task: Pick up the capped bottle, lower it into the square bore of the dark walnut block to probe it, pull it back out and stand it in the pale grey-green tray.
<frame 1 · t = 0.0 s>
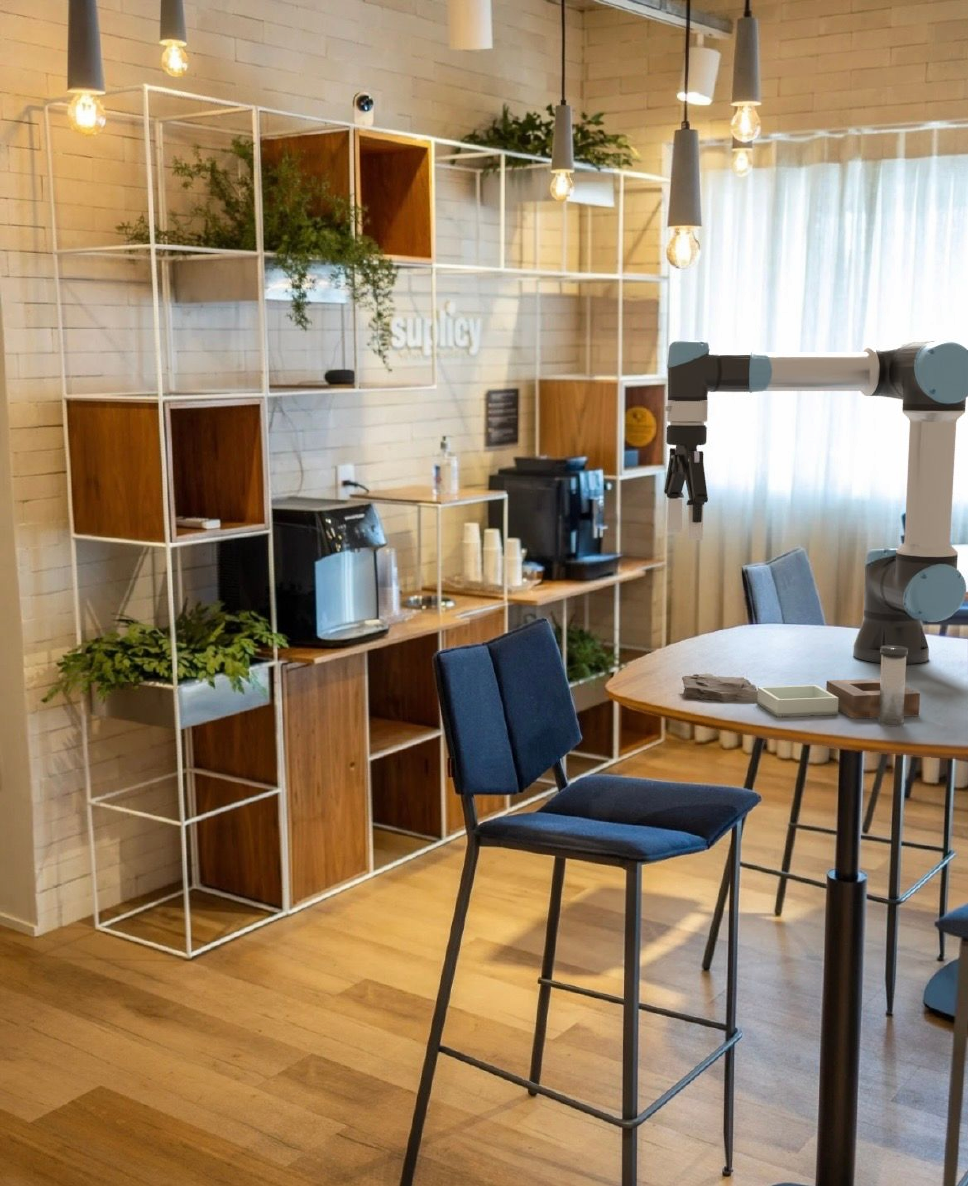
hand: (684, 535, 263), 28 cm above the table, fingers open, 13 cm apart
rock: (720, 698, 253), on the table
tray: (796, 709, 243), on the table
capped bottle: (890, 723, 233), on the table
bore block: (871, 708, 243), on the table
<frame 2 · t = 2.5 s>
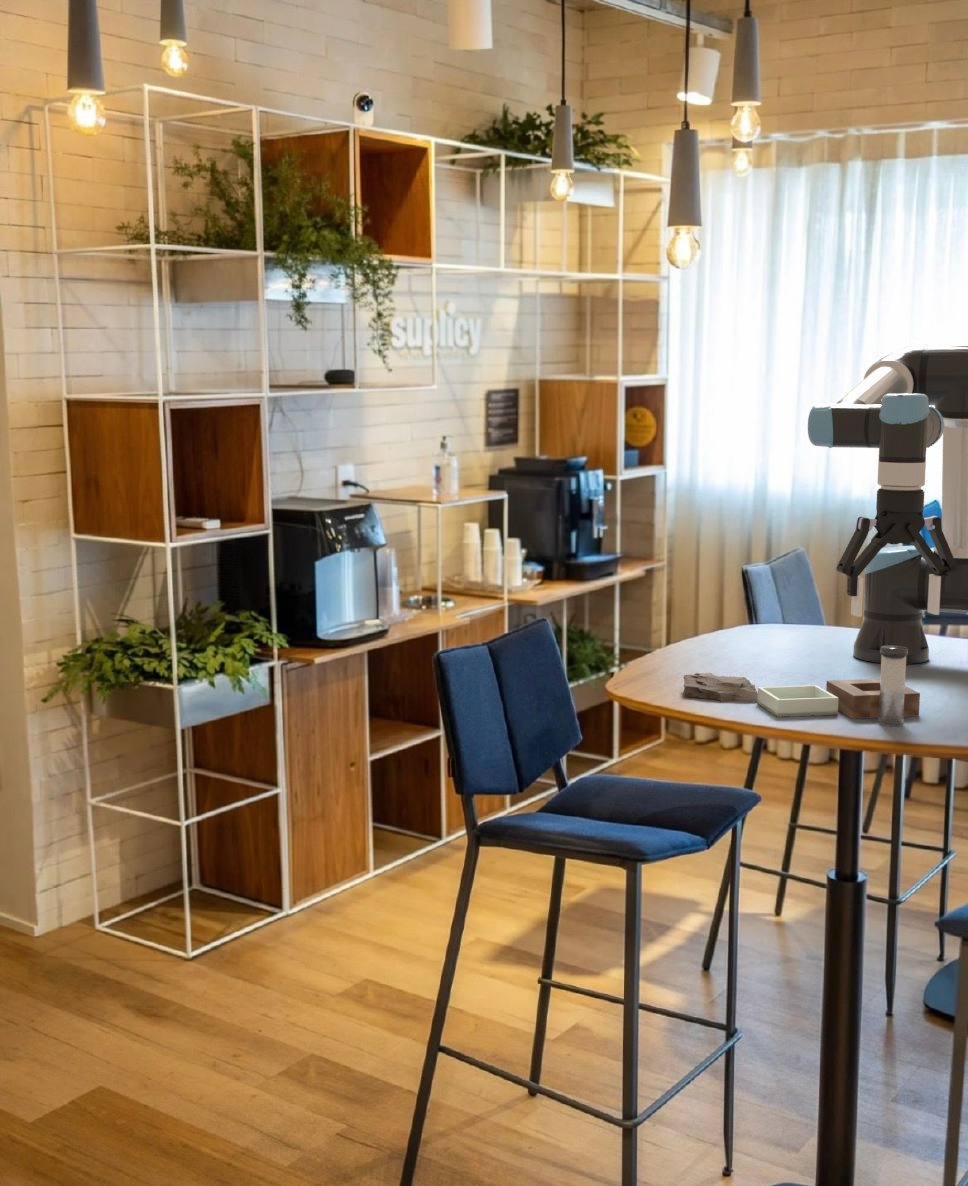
hand: (894, 614, 230), 19 cm above the table, fingers open, 13 cm apart
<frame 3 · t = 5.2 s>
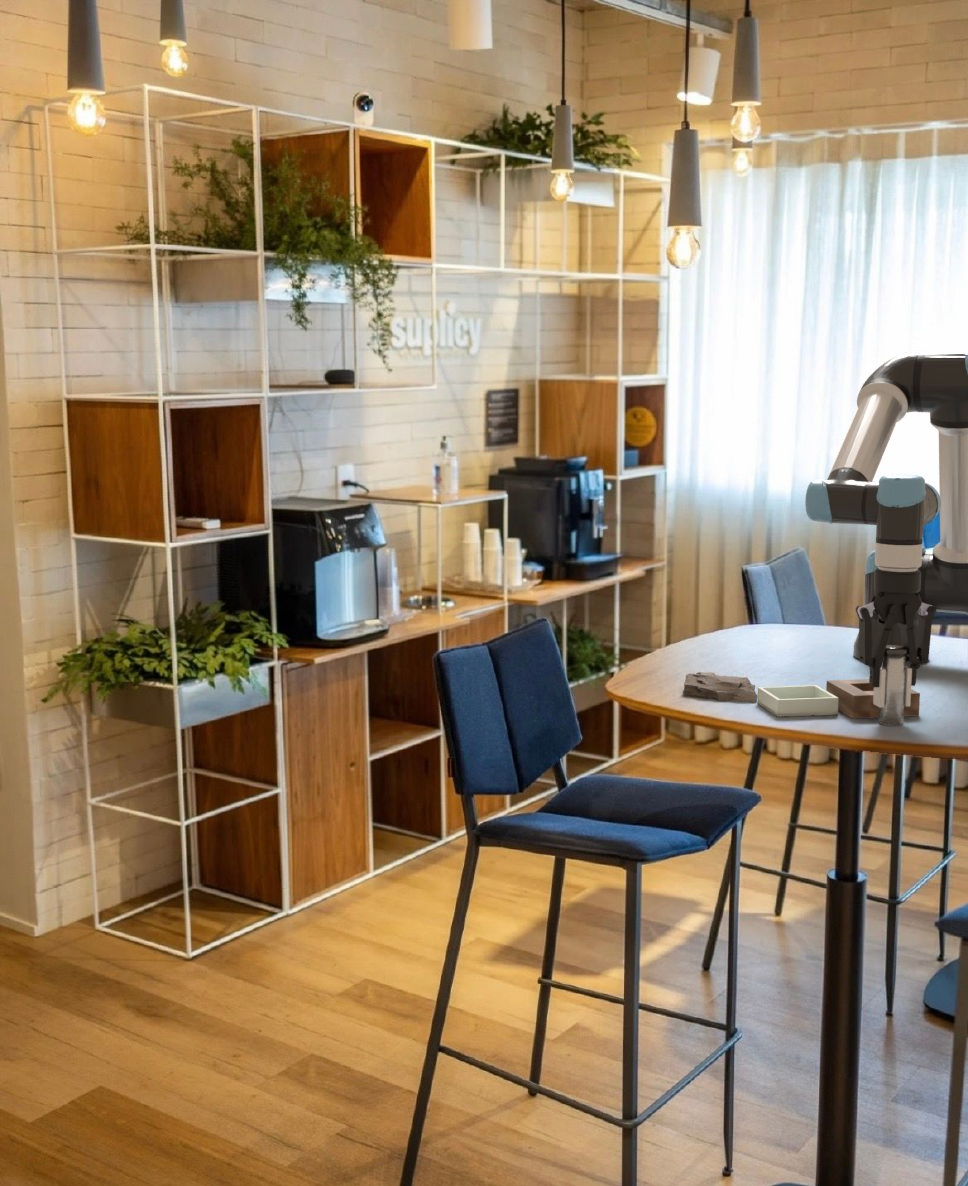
hand: (891, 704, 232), 3 cm above the table, fingers closed on capped bottle, 4 cm apart
capped bottle: (890, 722, 233), on the table, touching gripper
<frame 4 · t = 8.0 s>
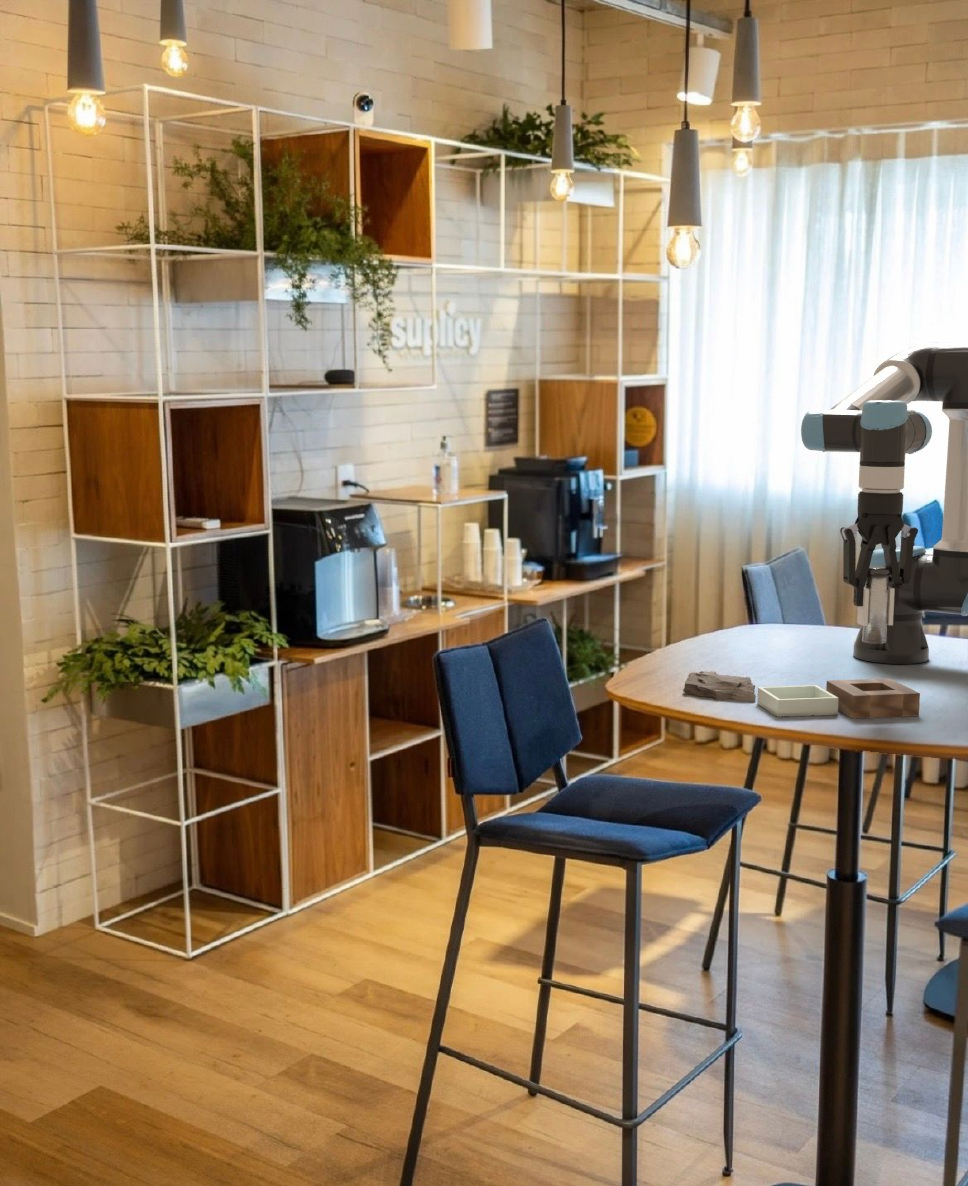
hand: (874, 624, 240), 15 cm above the table, fingers closed on capped bottle, 4 cm apart
capped bottle: (874, 641, 241), point 12 cm above the table, touching gripper
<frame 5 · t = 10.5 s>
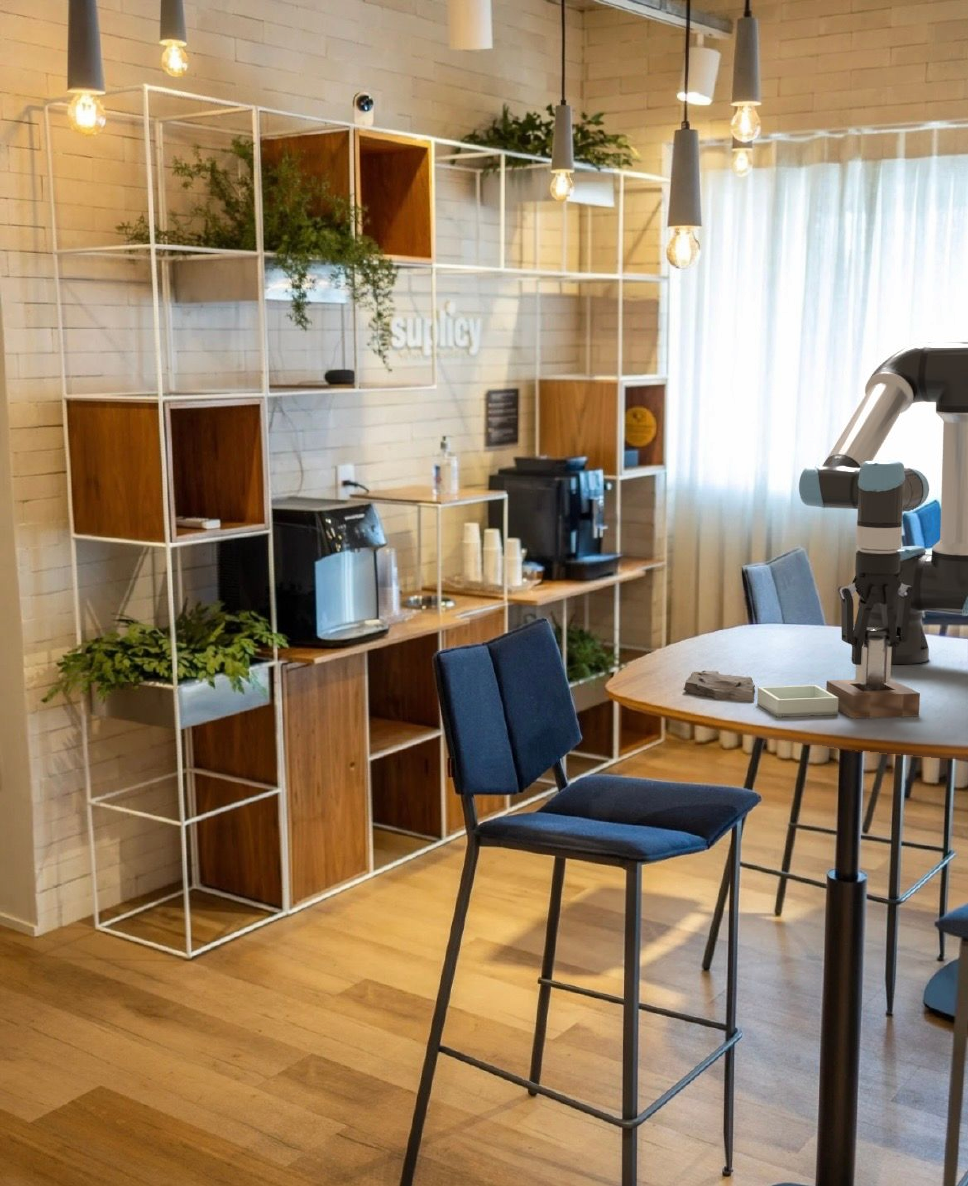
hand: (872, 681, 242), 5 cm above the table, fingers closed on capped bottle, 4 cm apart
capped bottle: (871, 702, 243), point 1 cm above the table, touching gripper
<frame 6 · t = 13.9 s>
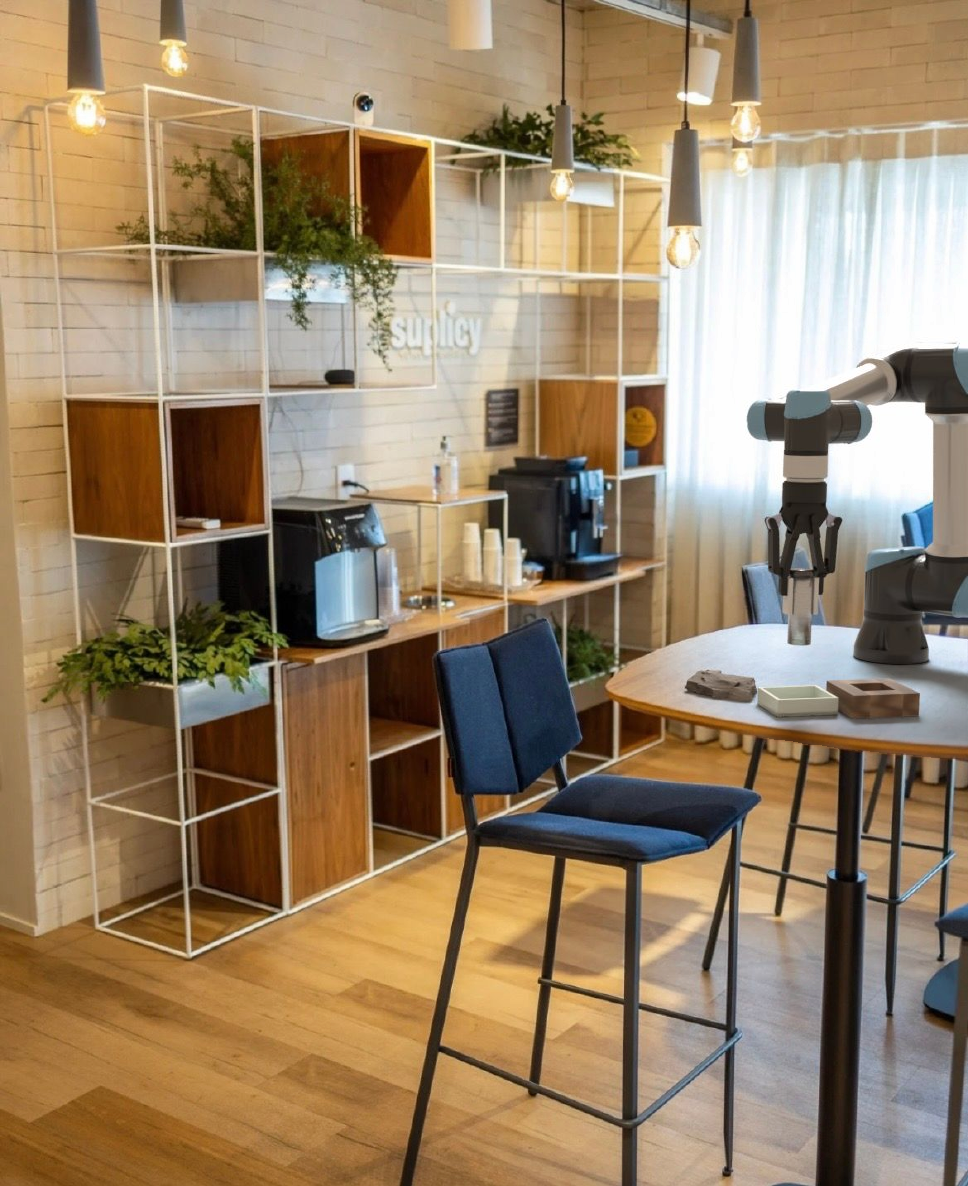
hand: (800, 613, 240), 17 cm above the table, fingers closed on capped bottle, 4 cm apart
capped bottle: (799, 643, 241), point 12 cm above the table, touching gripper
when the fingers open (6 cm above the table, at t = 16.4 s): capped bottle stays where it is, resting on tray.
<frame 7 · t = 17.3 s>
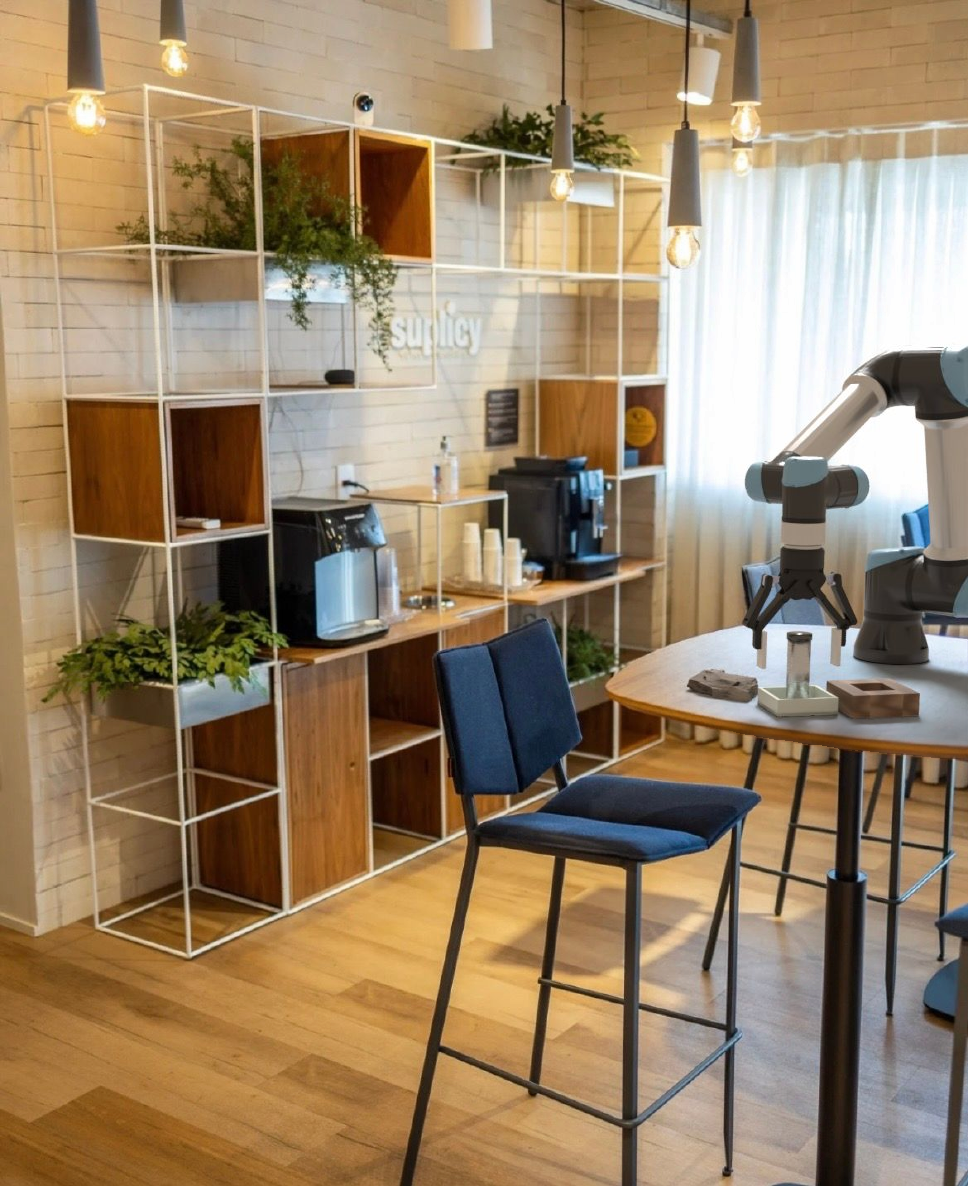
hand: (798, 666, 242), 8 cm above the table, fingers open, 13 cm apart
capped bottle: (797, 705, 243), point 1 cm above the table, touching tray
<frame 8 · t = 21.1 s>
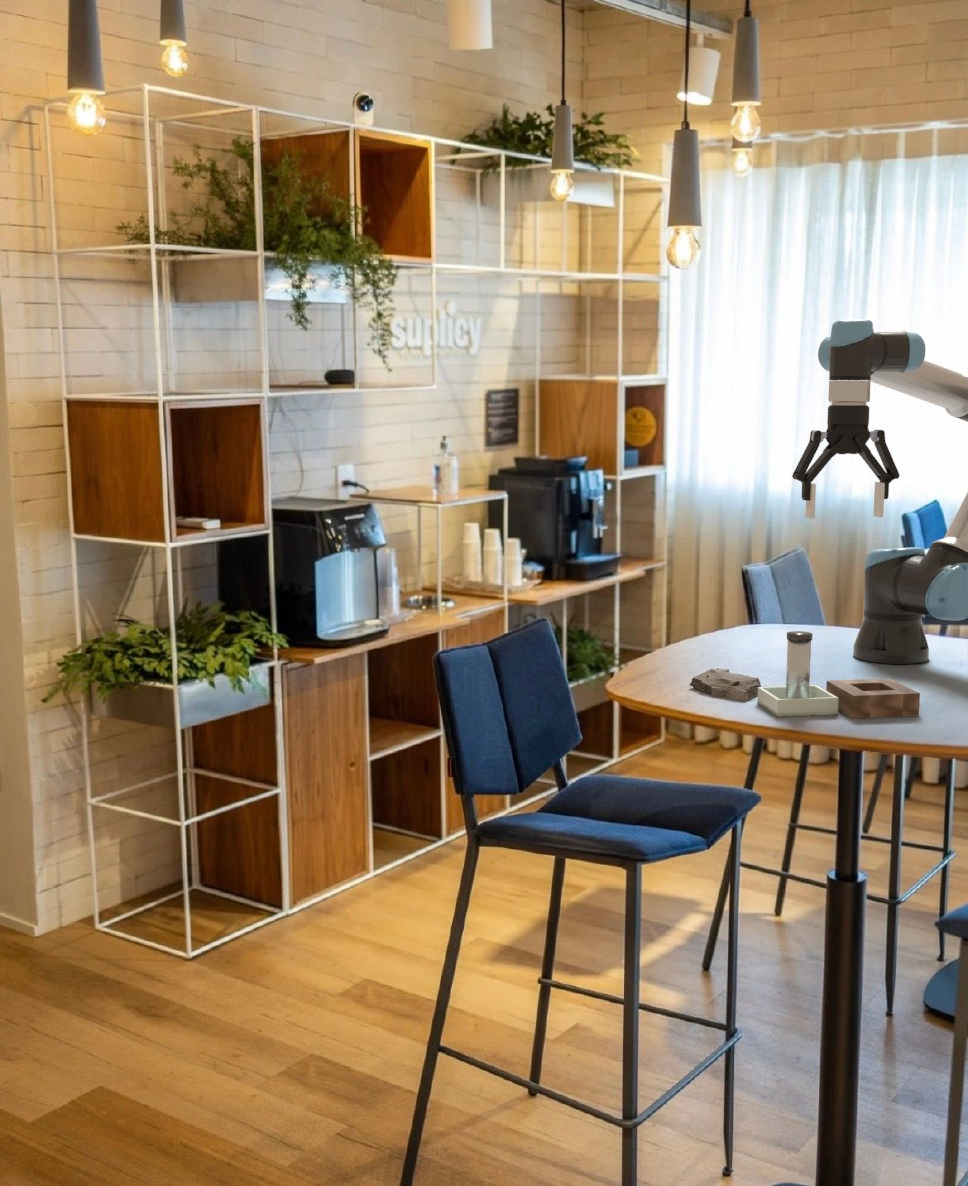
hand: (844, 517, 260), 32 cm above the table, fingers open, 13 cm apart
at the end: capped bottle inside the target area on the tray (0.1 cm from its centre), point 0.6 cm above the tray's base; the gripper is holding nothing; capped bottle touching tray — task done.
